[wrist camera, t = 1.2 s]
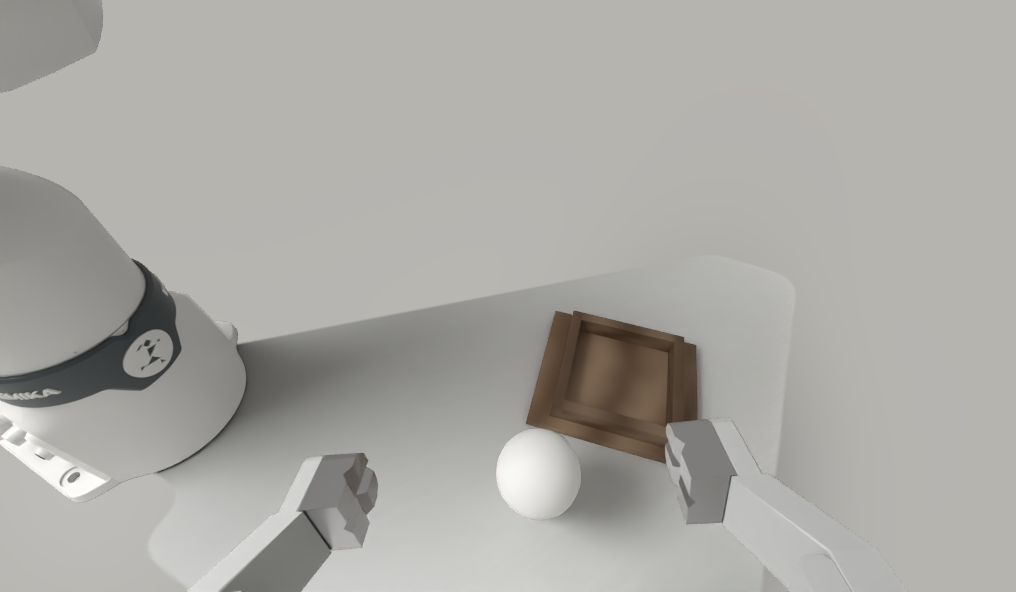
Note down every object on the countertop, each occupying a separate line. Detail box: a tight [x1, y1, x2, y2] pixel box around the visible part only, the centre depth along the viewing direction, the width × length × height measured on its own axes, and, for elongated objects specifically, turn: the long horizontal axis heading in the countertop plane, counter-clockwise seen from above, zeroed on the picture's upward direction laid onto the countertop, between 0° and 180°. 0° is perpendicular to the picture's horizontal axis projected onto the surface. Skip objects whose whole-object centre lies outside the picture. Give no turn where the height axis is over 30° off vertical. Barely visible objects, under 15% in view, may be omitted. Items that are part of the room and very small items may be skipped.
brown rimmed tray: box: [526, 311, 697, 463], centre depth 44 cm, size 16×14×3 cm
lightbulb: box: [496, 428, 581, 520], centre depth 33 cm, size 6×6×11 cm
